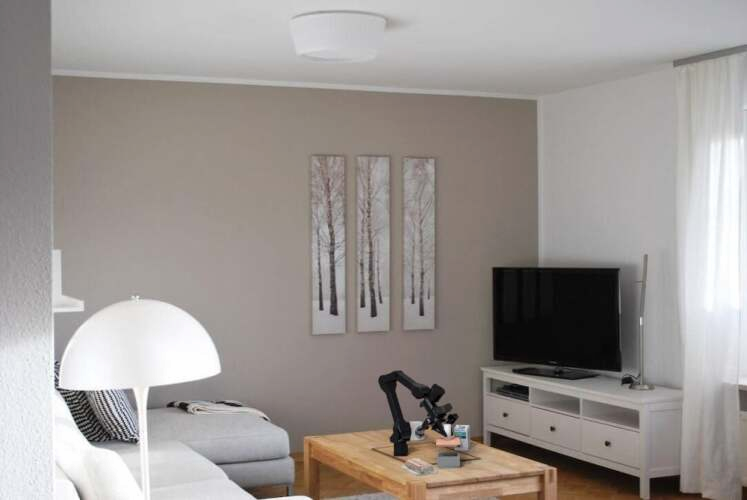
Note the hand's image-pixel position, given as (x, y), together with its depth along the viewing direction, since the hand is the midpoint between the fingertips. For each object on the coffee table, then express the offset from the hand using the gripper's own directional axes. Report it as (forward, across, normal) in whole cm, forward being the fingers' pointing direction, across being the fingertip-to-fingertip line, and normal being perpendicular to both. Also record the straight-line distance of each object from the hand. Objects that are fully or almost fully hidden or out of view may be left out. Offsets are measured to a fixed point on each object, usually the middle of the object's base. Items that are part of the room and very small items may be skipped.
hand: (449, 436), depth 443 cm
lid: (+2, 0, +4) cm, 4 cm away
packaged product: (+8, -16, +12) cm, 21 cm away
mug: (-31, +29, +51) cm, 66 cm away
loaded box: (+8, 0, +10) cm, 13 cm away
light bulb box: (-7, +30, +26) cm, 41 cm away
